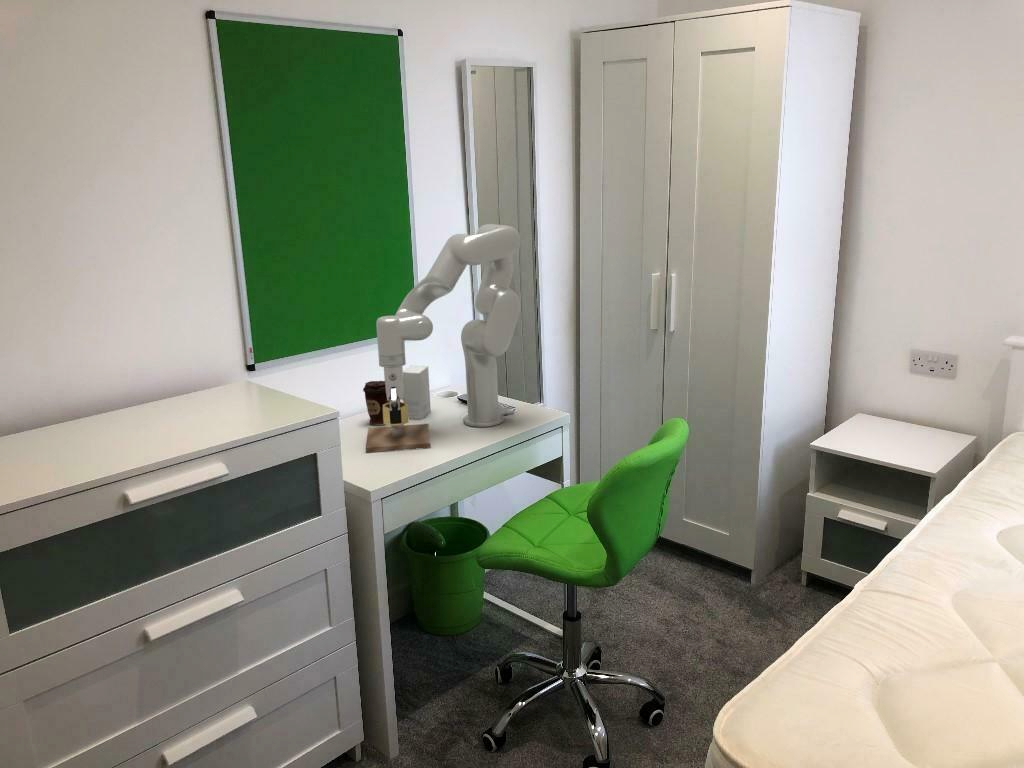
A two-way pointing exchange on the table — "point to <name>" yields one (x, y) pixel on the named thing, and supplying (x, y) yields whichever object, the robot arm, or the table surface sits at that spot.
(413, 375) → the skincare box
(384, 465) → the table surface
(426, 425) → the post board
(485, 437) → the table surface
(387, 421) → the brass ring
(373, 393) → the coffee cup
